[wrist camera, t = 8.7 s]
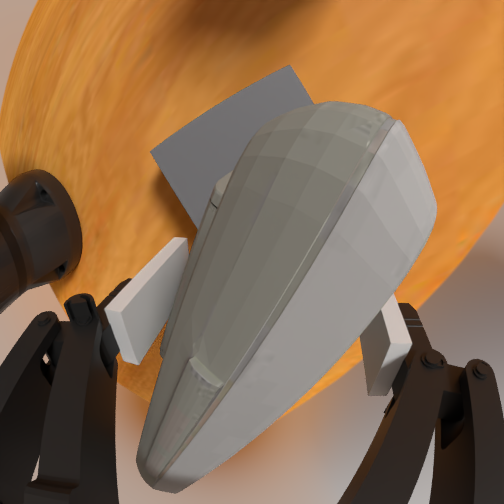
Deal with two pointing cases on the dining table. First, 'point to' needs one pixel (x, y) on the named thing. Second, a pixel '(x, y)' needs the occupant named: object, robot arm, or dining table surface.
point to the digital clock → (282, 280)
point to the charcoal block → (224, 137)
